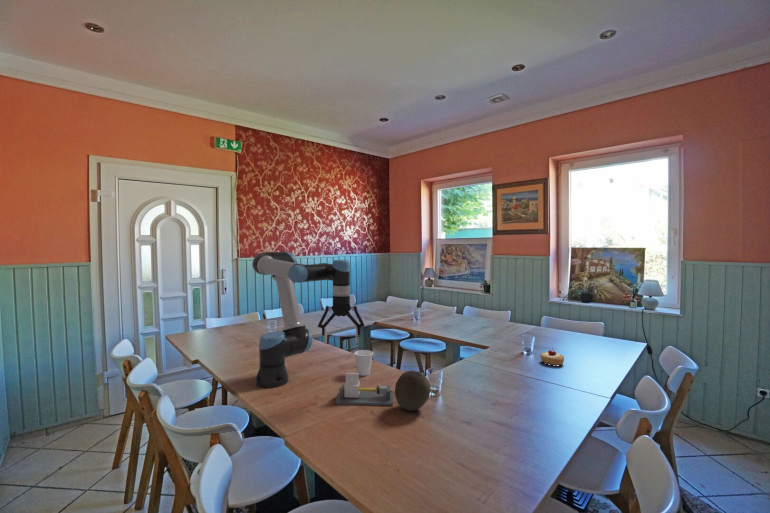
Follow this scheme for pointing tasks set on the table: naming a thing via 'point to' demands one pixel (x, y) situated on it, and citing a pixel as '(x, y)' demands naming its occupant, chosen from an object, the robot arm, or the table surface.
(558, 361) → the pastry
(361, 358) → the cup
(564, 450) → the table surface
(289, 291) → the robot arm
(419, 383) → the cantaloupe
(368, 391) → the horizontal rod stand
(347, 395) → the sleeve
